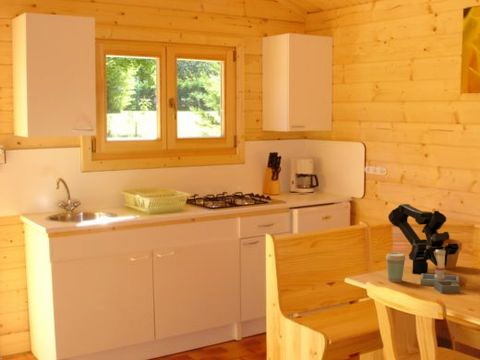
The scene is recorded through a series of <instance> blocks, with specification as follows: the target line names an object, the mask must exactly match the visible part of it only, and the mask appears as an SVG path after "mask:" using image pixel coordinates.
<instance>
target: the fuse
mask: <svg viewBox="0 0 480 360" xmlns="http://www.w3.org/2000/svg"><path fill="white" fill-rule="evenodd" d="M435 255H436V261H437V266H435V265H434V270H435V272H434V274H435V280H445V275H446V274H445V270H446V269H445V267H444V266H445V250H443V249H436V250H435Z"/></svg>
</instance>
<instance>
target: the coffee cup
mask: <svg viewBox="0 0 480 360" xmlns="http://www.w3.org/2000/svg"><path fill="white" fill-rule="evenodd" d="M385 259H386V268H387V278H388V279H387V280H388V281H389V282H391V283H402V282H403V274H404V270H405V269H404V268H405V262H406V261H405V260H406V256H405V254H404V253H400V252H388V253H386V256H385Z"/></svg>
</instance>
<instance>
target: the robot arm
mask: <svg viewBox="0 0 480 360" xmlns="http://www.w3.org/2000/svg"><path fill="white" fill-rule="evenodd" d="M409 217H410V218H412V219H414V220H415V223H417V224H418V225H420V226H422V225H423V228H422V230H421V234H422V233H424V235H425V239H424V238H423V239H421V238H420V237H419V236H418V235H417V233H416V232H415V230H414V229H413V228H412V226H411V225H410V223H409V222H408V219H409ZM388 221H389V222H390V224H392V225H393V226H395V227H397V228H399V230H400V231H401V233H402V235H404V237H405V238H406V240H407V241H408V242H409V243H410V245H411V250H410V252H409V253H408V258H409V260H410V261H412V270H411V271H412V272H411V274H418V275H419V274H420V275H421V274H428V272H429V262H428V261H430V262H432V264H433V265H434V267H435V266H437V261H436V258H435V255H434V251H435V250H436V249H443V250H445V266H446V265H447V256H448V255H453V254H456V252H457V250H458V249H459V246H458V244H457V243H448V245H447V246H442V244H444V241H446V240H448V239H449V238H450V233H449V231H444V232H439V231H438V230H440V229H441V228H442V227H443V226H444V224H445V223H446V222H447V217H446V216H445V215H444V214H443V213H441V212H440V211H439V210H434V211H433V212H431V211H427V210H425V211H424V210H421V209H418V208H416V207H413V206H412V205H411V204H408V203H403V204H399V205H398V207H395V208H394V209H393V210H391V211H390V213H389V214H388Z"/></svg>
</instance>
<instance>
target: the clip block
mask: <svg viewBox="0 0 480 360" xmlns="http://www.w3.org/2000/svg"><path fill="white" fill-rule="evenodd" d="M433 288H434V290H436V291H437V292H439V293H441V294H461V285H460V284H459V285H458V284H457V283H455V282H453V281H434V286H433Z"/></svg>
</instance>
